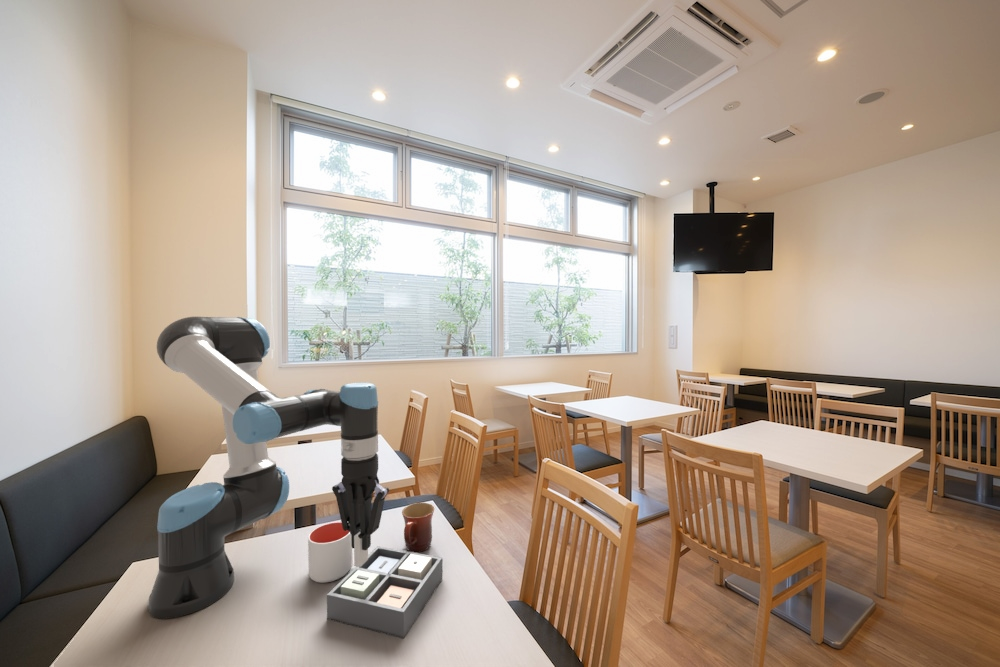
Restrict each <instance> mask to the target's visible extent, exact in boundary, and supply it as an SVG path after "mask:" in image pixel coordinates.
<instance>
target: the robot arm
mask: <svg viewBox="0 0 1000 667" xmlns="http://www.w3.org/2000/svg"><path fill="white" fill-rule="evenodd" d="M270 340H271V339H270V336H269V332H268V331H267V329H266V328H265V326H264V325H263V324H262V323H261V322H260V321H259V320H257V319H255V318H251V317H249V318H247V317H242V316H241V317H240V316H235V317H233V316H231V317H230V316H229V317H227V316H226V317H225V316H188V317H183V318H180V319H177V320H175V321H173V322H171V323H170V324H169V325H167V326H166V327H164V329H163V330H162V331H161V333H160V334H159V336H158V338H157V341H156V352H157V356H158V357H159V359H160V361H162V363H163V364H164V365H165V366H166V367H168V368H169V369H170V370H172V371H173V372H176V373H180V374H185V375H186V376H187V378H189V379H190V380H192V382H194V383H195V384H196V385H197V386H199V387H200V388H201V389H202V390H204V391H205V392H206V393H207V394H208V395H209V396H210V397H212V398H213V399H214V400H215V401H217V402H218V404H220V405H221V408H222V409H221V410H222V419H223V426H224V432H225V433H224V434H225V442H226V449H227V458H228V466H229V467H228V469H227V470H226V472H225V473H224V474H223V475H222V476H223V477H222V478H223V484H222V483H221V482H215V481H214V482H212V481H211V482H205V483H203V484H196V485H192V486H190V487H187V488H185V489H183V490H180V491H178V492H176V493H174V494H172V495H171V496H170V497H168V498H167V499H166V500H164V502H163V503H162V504H161V505H160V507H159V510H158V514H157V515H158V516H157V524H156V528H157V544H158V547H157V548H158V572H157V575H156V578H155V581H154V583H153V585H152V586H153V587H152V589H151V593H150V594H149V597H148V600H147V602H148V608H147V609H148V613H149V615H150V616H151V617H153V618H156V619H161V620H162V619H164V620H165V619H173V618H179V617H184V616H186V615H190V614H193V613H195V612H197V611H200V610H202V609H205V608H206V607H208V606H210V605H212V604H214V603H215V602H217V601H218V600H220V599H221V598H223V597H224V596H225V595H226V594H227V593H228V592H229V591H230V590H231V589H232V587H233V585H234V583H235V571H234V567H233V565H232V563H231V560H230V559H229V557H228V555H227V553H226V550H225V538H226V537H227V536H229V535H231V534H233V533H235V532H237V531H239V530H242V529H243V528H246V527H247V526H250V525H252V524H255V523H257V522H260V521H261V520H266V519H267V518H269V517H270V516H272V515H273V514H276V513H277V512H279V511H280V510H281V509H282V508H283V507H284V506H285V504H286V503H287V501H288V499H289V495H290V480H289V477H288V475H287V474H286V472H285V470H284V469H283V468H281V467H279V466H277V461H274V460H273V459H271V458H270V456H269V452H268V445H267V442H270V441H272V440H274V439H278V438H280V437H281V438H282V437H286V436H288V435H291V434H295V433H298V432H302V431H303V432H304V431H306V430H310V429H313V428H317V427H320V426H325V425H329V426H337V427H340V445H341V447H340V452H341V454H340V455H341V456H342V458H341V459H340V463H341V464H340V465H341V466H340V468H341V469H340V470H341V472H340V473H341V476H342V478H341V481H340V482H338V483H337V484H335V485H334V486H332V487H331V489H332V490H331V491H332V492H333V494H334V496H335V498H336V503H337V508H338V511H339V512H338V513H339V517H340V522H342V527H343V530H344V531H347V530H348V531H349V532H350V534H351V543H352V549H354V550H353V552H354V553H353V554H354V555H353V556H354V557H353V558H354V563H353V564H354V567H356V566H357V567H361V566H362V565H363V564H364V563H365V562H366V561H367V560H368V555H369V548H371V544H372V543H371V541H372V540H371V539H372V538H371V537H372V536H371V535H373V533H375V532H376V531H377V530H379V528H380V524H381V519H382V514H383V510H384V509H383V508H384V504H385V500H386V497H387V495H389V494H388V493H389V492H390V488H389V486H388V487H387V486H386V487H383V486H382V485H381V484H380V479H379V477H378V471H379V454H378V452H379V432H378V414H379V413H378V408H379V407H378V406H379V401H378V390H377V389H378V388H377V386H376V385H375V384H374V383H371V382H352V383H346V384H344V385H342V386H341V387H340V389H339V390H329V389H325V388H320V389H310V390H309V389H308V390H306V392H304V393H303V394H298V395H293V396H287V397H286V396H285V397H279V396H277V395H276V394H275V393H274V392H272V391H270V389H268V388H267V387H266V386H264V385H263V384H262V383H260V382H259V376H258V372H257V371H258V369H259V368H260V367H261V366H262V365H263V358H265V357H266V356H267V355H268V353H269V351H270V350H269V349H270V346H271V343H270V342H271V341H270ZM373 495H374V496H373ZM373 498H374V500H373ZM372 500H373V502H372Z"/></svg>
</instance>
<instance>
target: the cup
mask: <svg viewBox="0 0 1000 667" xmlns="http://www.w3.org/2000/svg"><path fill="white" fill-rule="evenodd" d="M307 538H308V540H307V542H308V544H307V547H308V550H307V552H308V554H307V555H308V576H309V578H310V580H312V581H314V582H316V583H320V584H321V583H322V584H323V583H331V582H334V581H336V580H339V579H342V577H343V578H344V576H346V575H347V573H349V571H351V569H352V565H353V558H354V557H353V556H354V555H353V554H354V553H353V548H352V543H351V534H350V532H349V531H348V530H347V531H344V530H343V527H342V522H341V521H337V522H330V523H325V524H323V525H320V526H318V527H316V528H314V529H313V530H312V531H311V532H310V533H309V534H308V537H307Z"/></svg>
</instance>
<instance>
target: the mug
mask: <svg viewBox="0 0 1000 667" xmlns="http://www.w3.org/2000/svg"><path fill="white" fill-rule="evenodd" d="M434 511H435V506H433V505H432V503H431V504H430V503H428V502H414V503H412V504H411V503H410V504H408V505H406V506H404V508H403V509H402V512H401V514H402V517H403V520H404V530H403V538H404V544H405V548H406V550H408V552H414V553H421V552H424V551H426V550H428V548H430V547H431V545H432V539H433V526H432V519H433V516H434Z"/></svg>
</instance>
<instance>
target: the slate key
mask: <svg viewBox="0 0 1000 667" xmlns="http://www.w3.org/2000/svg"><path fill="white" fill-rule="evenodd" d="M399 561H400V560H399V559H393V558H388V557H383V556H379V557H378V558H377V559H376V560H375V561H374V562H373V563H372V564H371V565H370V566H369V567H368V568H367V569H369V570H374V571H379V572H384V573H389V572H390V571H391V570H392V569H393V567H394V566H395V565H396V564H397V563H398V562H399Z"/></svg>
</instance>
